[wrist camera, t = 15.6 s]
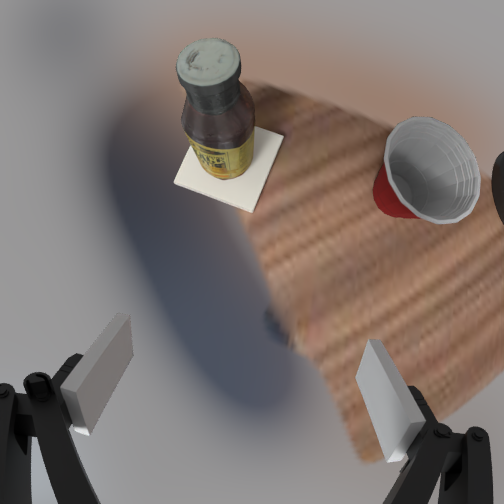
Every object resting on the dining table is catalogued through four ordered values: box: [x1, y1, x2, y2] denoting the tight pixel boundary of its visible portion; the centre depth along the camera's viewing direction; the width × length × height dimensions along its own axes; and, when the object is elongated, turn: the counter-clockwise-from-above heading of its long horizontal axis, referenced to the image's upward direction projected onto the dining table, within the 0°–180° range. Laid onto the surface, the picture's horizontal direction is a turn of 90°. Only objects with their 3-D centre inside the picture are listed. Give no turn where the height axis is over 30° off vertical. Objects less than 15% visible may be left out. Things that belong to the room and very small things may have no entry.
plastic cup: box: [373, 117, 481, 224], centre depth 31 cm, size 11×11×12 cm
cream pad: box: [174, 126, 284, 213], centre depth 37 cm, size 10×10×1 cm
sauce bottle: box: [176, 38, 255, 180], centre depth 27 cm, size 6×6×20 cm
